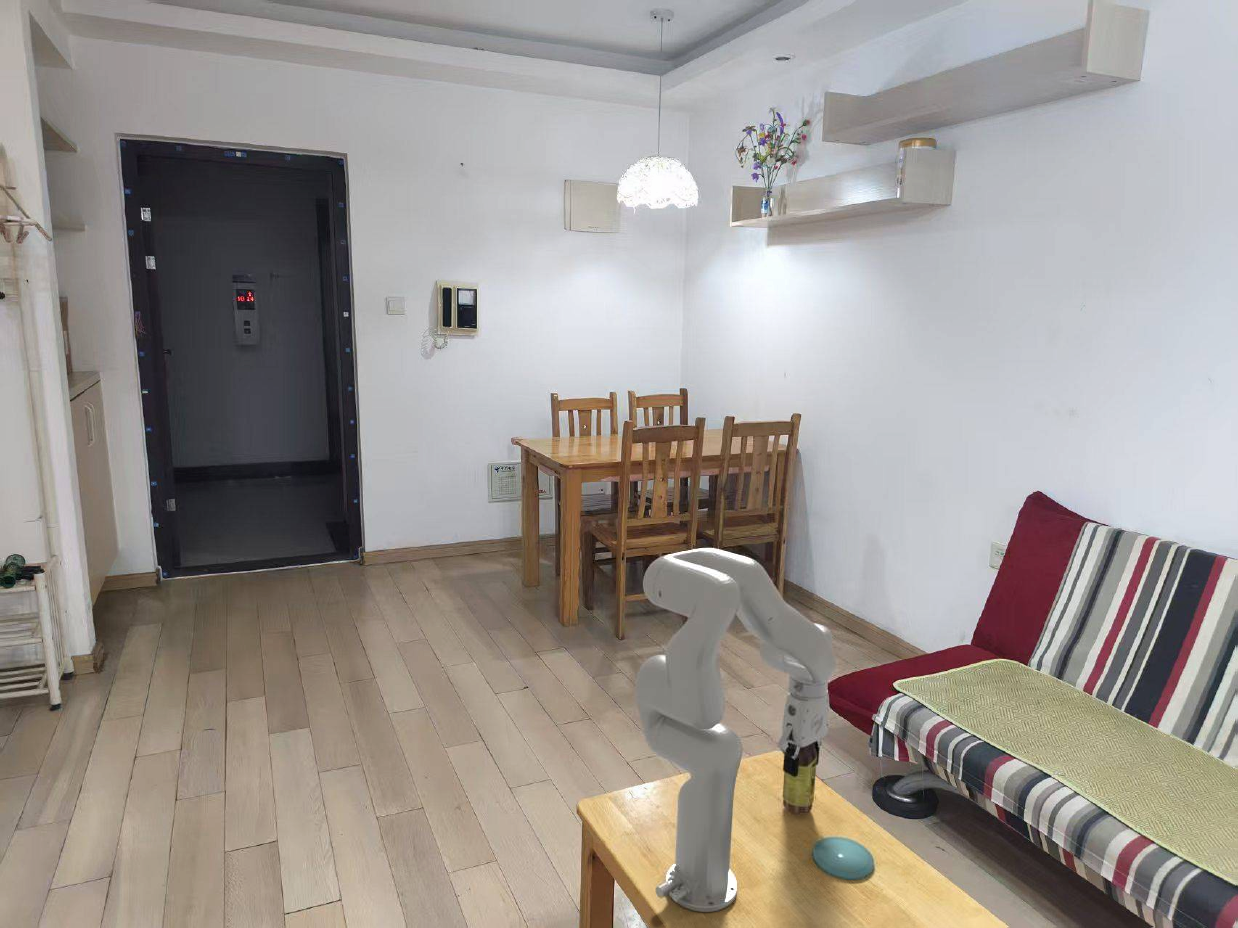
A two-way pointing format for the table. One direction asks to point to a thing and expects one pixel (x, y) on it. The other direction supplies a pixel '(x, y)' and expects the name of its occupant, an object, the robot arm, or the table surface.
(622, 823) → the table surface
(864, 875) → the coaster
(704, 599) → the robot arm
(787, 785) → the sauce bottle
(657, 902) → the table surface
